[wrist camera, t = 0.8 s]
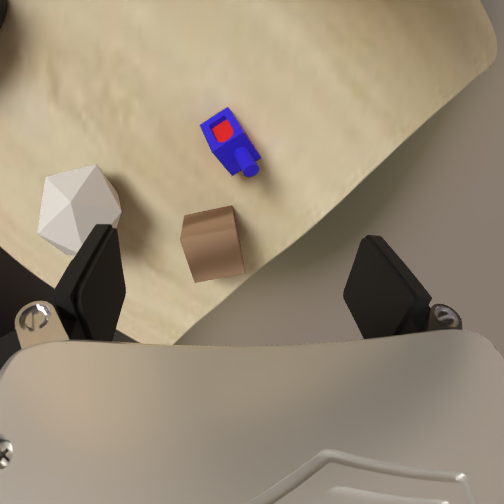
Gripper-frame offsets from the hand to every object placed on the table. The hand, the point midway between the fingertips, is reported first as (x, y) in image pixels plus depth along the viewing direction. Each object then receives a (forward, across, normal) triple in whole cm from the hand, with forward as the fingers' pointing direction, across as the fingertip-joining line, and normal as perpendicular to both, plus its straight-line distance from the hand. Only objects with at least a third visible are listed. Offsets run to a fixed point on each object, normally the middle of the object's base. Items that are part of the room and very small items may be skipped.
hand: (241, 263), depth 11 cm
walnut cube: (+19, 0, +9) cm, 21 cm away
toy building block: (+19, 0, -1) cm, 19 cm away
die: (+19, +14, +5) cm, 24 cm away
